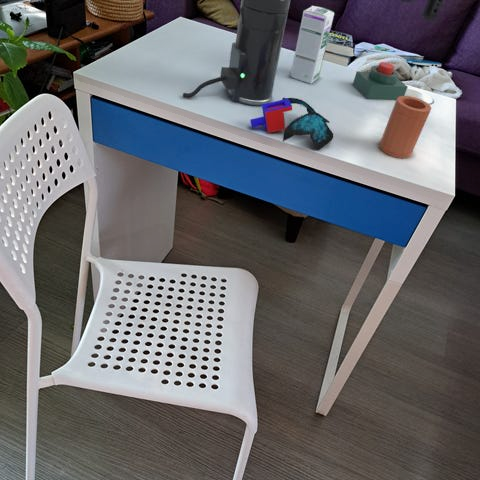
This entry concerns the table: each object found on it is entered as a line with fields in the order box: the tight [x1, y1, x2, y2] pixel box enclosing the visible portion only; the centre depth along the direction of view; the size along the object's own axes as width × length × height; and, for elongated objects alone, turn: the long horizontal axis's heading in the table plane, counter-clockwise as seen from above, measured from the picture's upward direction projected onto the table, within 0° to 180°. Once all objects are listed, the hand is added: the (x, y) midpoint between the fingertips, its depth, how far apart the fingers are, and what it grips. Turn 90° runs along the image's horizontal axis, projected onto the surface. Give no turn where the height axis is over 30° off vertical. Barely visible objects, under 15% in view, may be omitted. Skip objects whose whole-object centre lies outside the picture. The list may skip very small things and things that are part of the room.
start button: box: [377, 61, 395, 75], centre depth 118 cm, size 4×4×2 cm
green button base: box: [352, 65, 408, 101], centre depth 120 cm, size 10×8×5 cm
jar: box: [378, 95, 432, 159], centre depth 98 cm, size 7×7×10 cm
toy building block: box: [250, 98, 293, 134], centre depth 97 cm, size 4×4×8 cm
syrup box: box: [289, 5, 335, 84], centre depth 116 cm, size 6×6×14 cm
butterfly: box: [281, 97, 334, 151], centre depth 98 cm, size 17×5×10 cm
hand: (416, 9), depth 82 cm, fingers open, 8 cm apart
